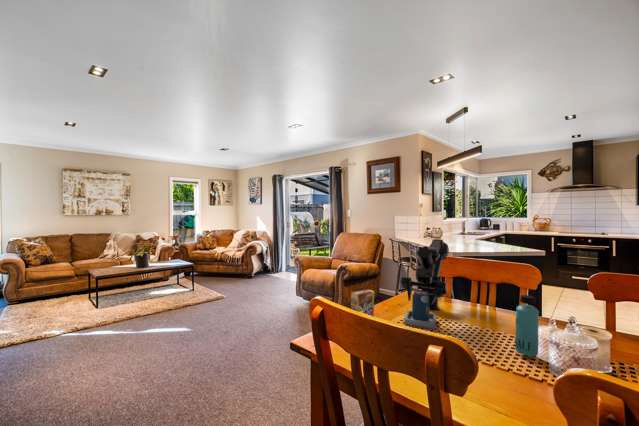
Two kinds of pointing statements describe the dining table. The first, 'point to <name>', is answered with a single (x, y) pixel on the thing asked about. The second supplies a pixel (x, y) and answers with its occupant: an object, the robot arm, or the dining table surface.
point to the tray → (418, 323)
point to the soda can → (420, 305)
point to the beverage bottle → (527, 327)
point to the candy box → (363, 301)
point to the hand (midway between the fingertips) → (419, 302)
